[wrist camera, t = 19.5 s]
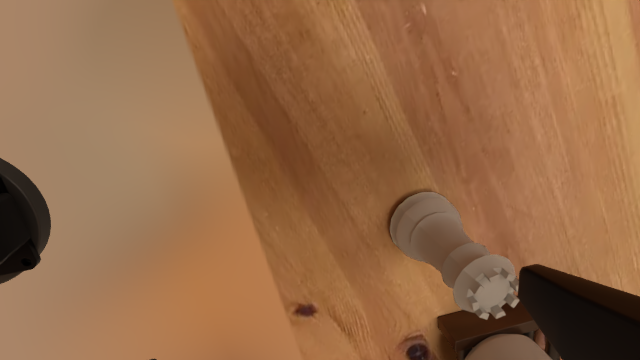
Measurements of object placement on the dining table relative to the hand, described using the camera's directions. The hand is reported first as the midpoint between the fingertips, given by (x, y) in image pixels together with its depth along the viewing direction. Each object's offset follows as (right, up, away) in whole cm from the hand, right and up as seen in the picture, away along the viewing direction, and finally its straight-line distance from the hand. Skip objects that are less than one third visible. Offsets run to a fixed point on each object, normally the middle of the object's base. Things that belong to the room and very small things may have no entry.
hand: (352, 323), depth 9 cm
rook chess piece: (+6, +1, +15) cm, 16 cm away
